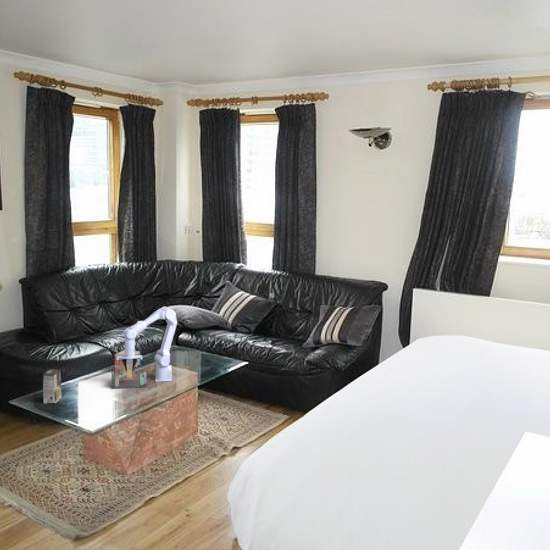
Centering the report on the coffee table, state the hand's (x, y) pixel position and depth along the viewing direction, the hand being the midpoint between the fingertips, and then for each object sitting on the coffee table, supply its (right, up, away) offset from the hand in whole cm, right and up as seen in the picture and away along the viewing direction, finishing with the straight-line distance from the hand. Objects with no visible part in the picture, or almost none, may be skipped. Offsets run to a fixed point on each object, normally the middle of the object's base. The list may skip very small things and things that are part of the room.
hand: (129, 371), depth 345 cm
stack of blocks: (-8, -4, +30) cm, 31 cm away
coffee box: (-34, -11, -28) cm, 46 cm away
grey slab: (0, -8, +1) cm, 8 cm away
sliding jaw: (+7, -7, +3) cm, 10 cm away
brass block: (0, -3, +1) cm, 3 cm away
